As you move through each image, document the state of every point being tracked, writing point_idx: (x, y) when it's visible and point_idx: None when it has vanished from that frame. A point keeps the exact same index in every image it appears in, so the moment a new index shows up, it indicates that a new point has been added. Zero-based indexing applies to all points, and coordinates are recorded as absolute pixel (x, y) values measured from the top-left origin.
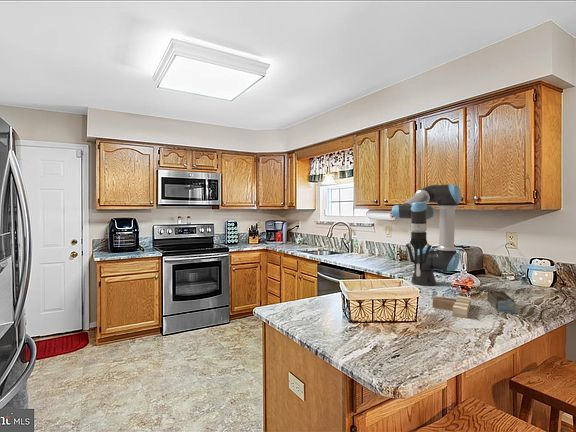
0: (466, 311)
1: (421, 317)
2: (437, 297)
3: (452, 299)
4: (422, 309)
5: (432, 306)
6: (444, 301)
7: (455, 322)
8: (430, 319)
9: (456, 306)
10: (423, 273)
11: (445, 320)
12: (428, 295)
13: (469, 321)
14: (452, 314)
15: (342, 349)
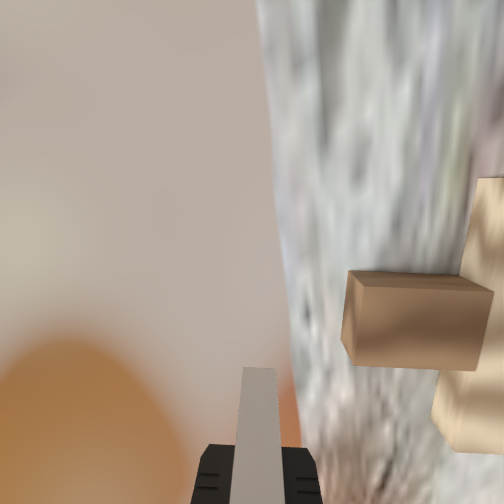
0: None
1: None
2: (380, 310)
3: (470, 312)
4: (299, 391)
5: (342, 342)
6: (418, 367)
7: (436, 487)
8: (343, 496)
9: (476, 430)
10: None
11: (399, 482)
12: (296, 72)
13: None
14: (433, 421)
15: None
